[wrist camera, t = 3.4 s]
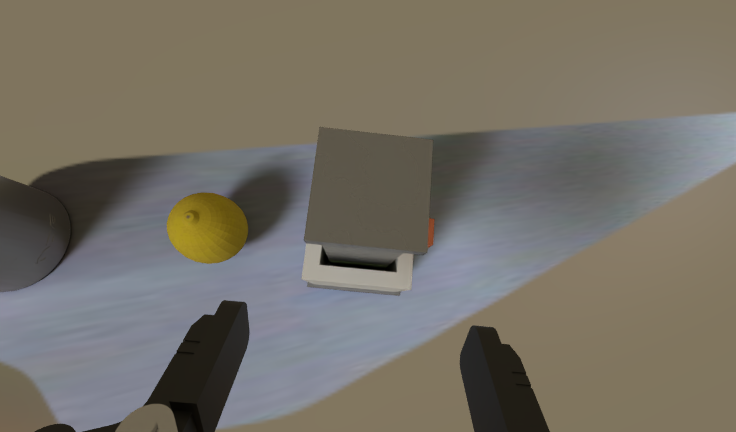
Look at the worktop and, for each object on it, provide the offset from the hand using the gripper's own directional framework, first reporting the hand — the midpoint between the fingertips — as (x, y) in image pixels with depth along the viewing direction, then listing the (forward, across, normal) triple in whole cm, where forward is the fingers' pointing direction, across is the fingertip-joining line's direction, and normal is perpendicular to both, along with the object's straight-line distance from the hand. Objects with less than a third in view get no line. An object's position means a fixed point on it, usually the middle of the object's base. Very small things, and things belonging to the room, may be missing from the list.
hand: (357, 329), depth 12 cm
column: (+16, 0, +8) cm, 18 cm away
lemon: (+17, +12, +10) cm, 23 cm away
